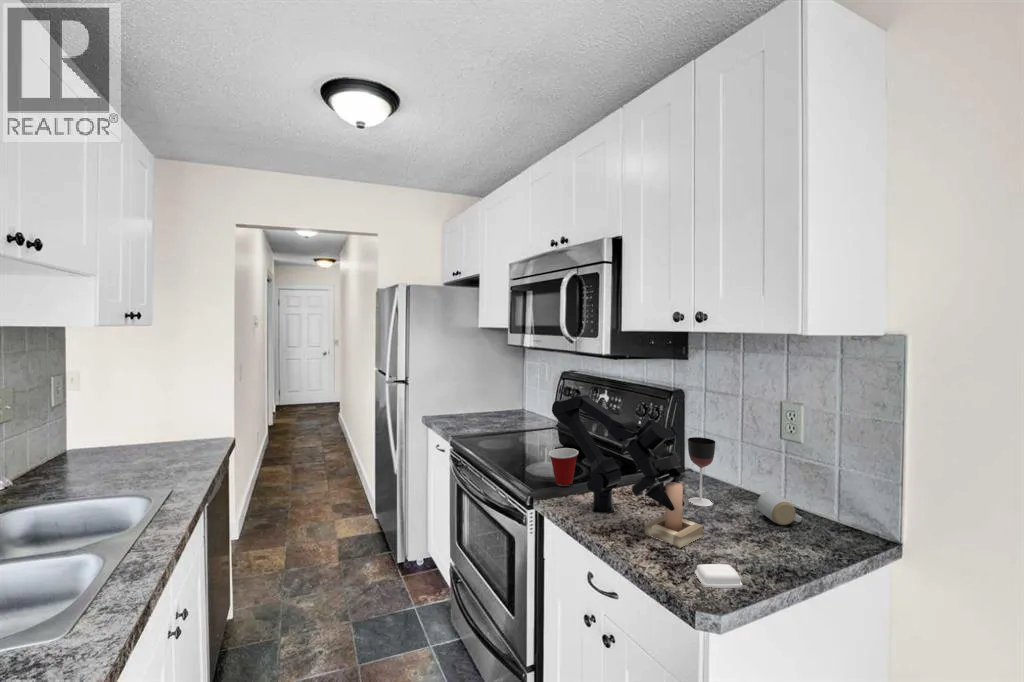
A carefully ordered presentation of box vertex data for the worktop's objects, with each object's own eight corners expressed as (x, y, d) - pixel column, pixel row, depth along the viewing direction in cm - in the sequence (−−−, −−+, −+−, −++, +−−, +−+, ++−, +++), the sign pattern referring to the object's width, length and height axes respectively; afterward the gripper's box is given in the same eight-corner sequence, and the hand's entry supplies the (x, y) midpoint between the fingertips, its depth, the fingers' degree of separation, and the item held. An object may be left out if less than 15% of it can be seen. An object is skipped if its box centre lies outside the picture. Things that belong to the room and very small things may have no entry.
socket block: (644, 534, 133) (644, 523, 133) (667, 523, 140) (667, 513, 140) (680, 548, 125) (681, 537, 125) (703, 536, 132) (703, 525, 132)
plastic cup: (543, 481, 177) (543, 448, 177) (570, 478, 180) (570, 446, 180) (555, 491, 167) (555, 456, 166) (583, 487, 170) (583, 454, 170)
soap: (731, 573, 113) (731, 561, 113) (744, 589, 107) (745, 576, 106) (692, 573, 113) (692, 561, 113) (703, 589, 107) (704, 576, 107)
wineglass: (698, 508, 151) (699, 444, 150) (681, 498, 160) (682, 438, 159) (720, 505, 153) (721, 442, 152) (702, 495, 162) (703, 436, 161)
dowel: (663, 526, 135) (664, 481, 134) (679, 526, 134) (680, 482, 134) (667, 533, 130) (667, 487, 130) (683, 533, 130) (684, 488, 129)
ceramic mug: (772, 527, 137) (773, 500, 137) (756, 515, 146) (757, 490, 145) (808, 526, 138) (809, 500, 138) (790, 515, 146) (791, 490, 146)
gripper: (641, 448, 128) (678, 501, 120) (680, 437, 140) (716, 485, 132) (617, 470, 135) (651, 522, 127) (656, 458, 147) (689, 504, 139)
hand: (678, 507), depth 131 cm, fingers closed on dowel, 4 cm apart
